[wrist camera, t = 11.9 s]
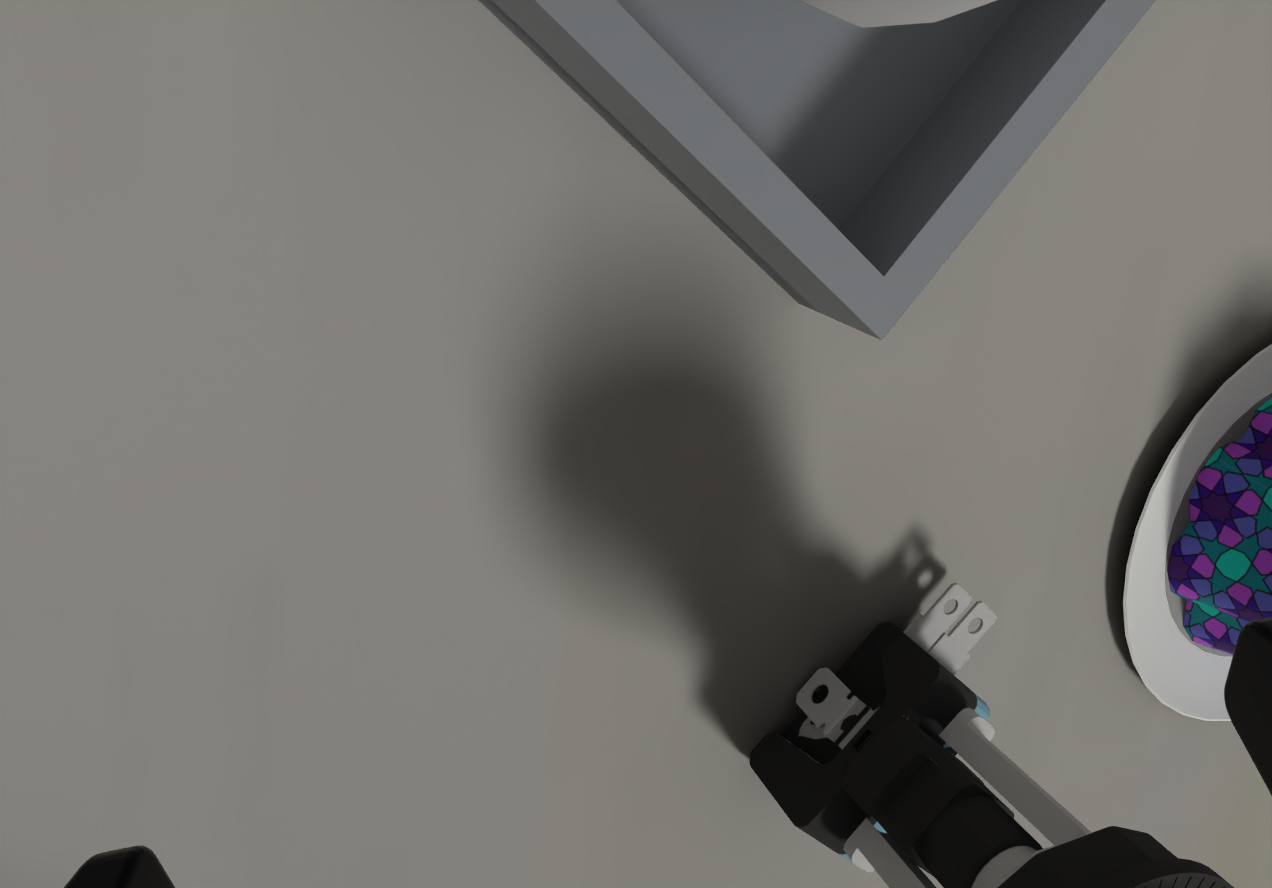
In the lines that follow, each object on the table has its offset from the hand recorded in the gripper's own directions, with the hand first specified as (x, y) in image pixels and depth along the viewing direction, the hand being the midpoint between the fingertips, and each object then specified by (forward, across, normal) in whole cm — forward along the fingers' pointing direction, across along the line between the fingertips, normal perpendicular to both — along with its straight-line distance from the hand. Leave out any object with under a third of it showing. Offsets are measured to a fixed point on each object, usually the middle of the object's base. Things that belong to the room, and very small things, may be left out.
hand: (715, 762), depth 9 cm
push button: (+12, -5, +12) cm, 18 cm away
